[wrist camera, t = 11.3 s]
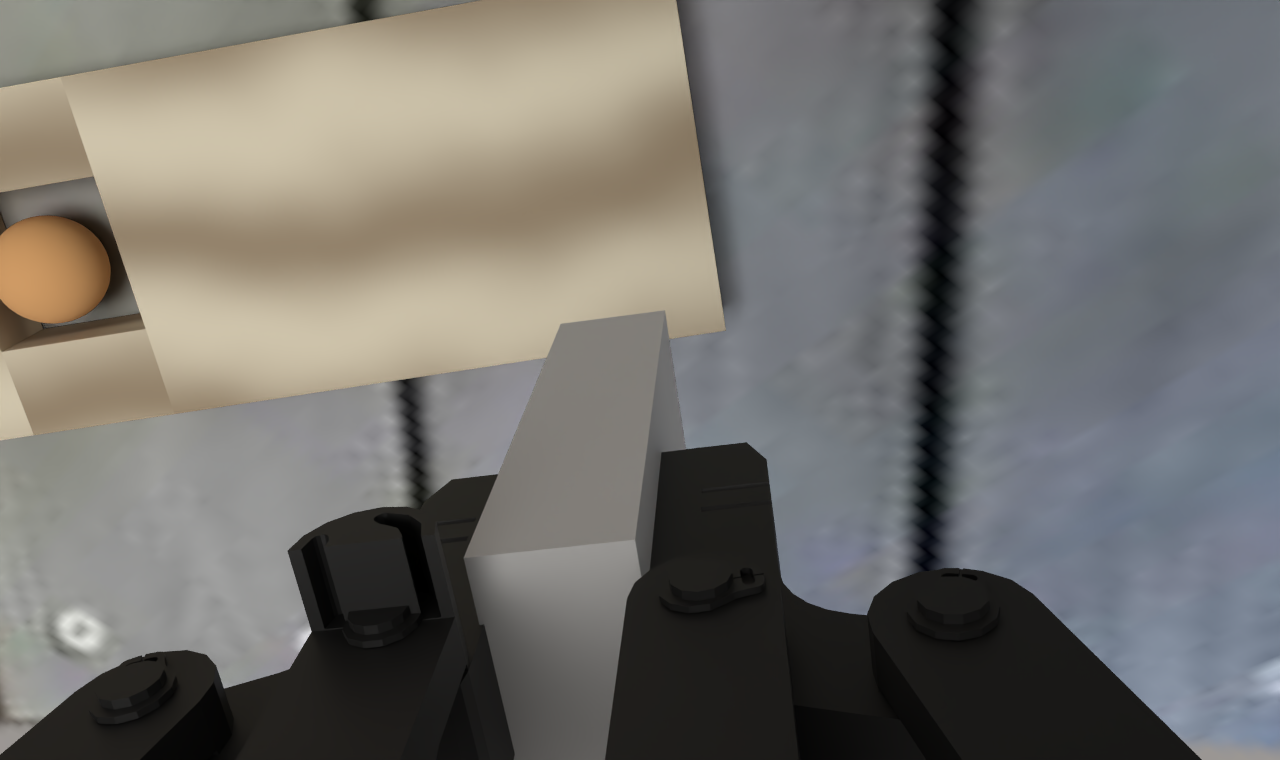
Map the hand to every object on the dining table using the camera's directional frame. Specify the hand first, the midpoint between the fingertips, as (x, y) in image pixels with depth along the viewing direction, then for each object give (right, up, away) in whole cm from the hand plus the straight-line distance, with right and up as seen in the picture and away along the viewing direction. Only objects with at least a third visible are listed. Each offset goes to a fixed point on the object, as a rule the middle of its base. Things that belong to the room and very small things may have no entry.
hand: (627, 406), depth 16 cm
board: (-13, +6, +21) cm, 25 cm away
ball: (-19, +4, +20) cm, 28 cm away
